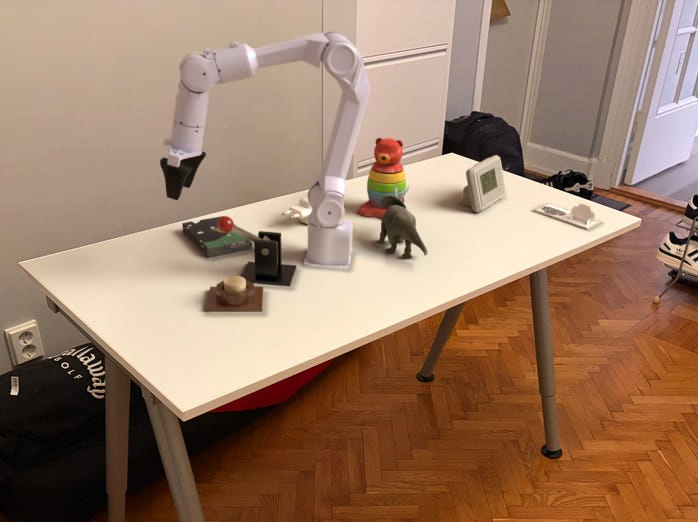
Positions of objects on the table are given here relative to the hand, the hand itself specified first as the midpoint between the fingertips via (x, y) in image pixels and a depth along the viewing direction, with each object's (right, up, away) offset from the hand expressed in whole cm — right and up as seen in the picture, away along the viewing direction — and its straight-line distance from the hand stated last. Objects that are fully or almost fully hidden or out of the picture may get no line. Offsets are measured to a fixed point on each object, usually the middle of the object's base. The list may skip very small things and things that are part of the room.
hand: (178, 192), depth 138 cm
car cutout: (+86, +3, +42) cm, 96 cm away
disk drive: (+4, -7, +19) cm, 20 cm away
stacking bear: (+40, +4, +38) cm, 56 cm away
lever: (+12, -9, +2) cm, 15 cm away
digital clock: (+66, +8, +47) cm, 81 cm away
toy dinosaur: (+43, -8, +21) cm, 48 cm away
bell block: (+12, -22, -3) cm, 25 cm away
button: (+12, -19, -5) cm, 23 cm away
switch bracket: (+16, -16, +6) cm, 24 cm away
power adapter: (+22, -1, +30) cm, 37 cm away
